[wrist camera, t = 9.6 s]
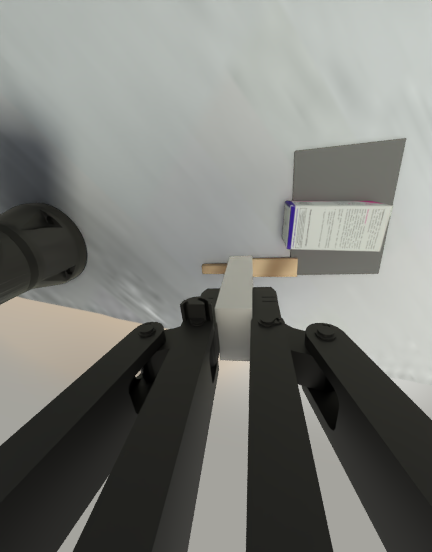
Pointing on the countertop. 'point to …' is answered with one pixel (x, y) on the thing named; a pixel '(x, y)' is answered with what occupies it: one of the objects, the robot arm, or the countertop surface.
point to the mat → (346, 195)
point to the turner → (261, 267)
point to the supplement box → (335, 225)
